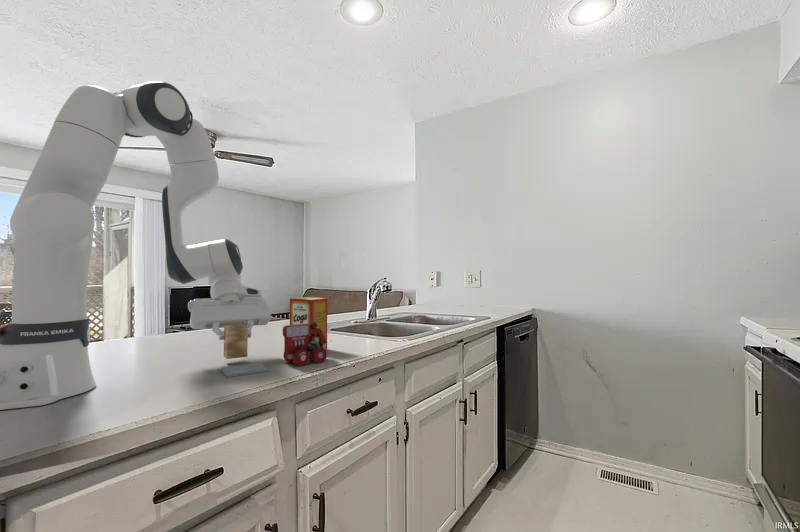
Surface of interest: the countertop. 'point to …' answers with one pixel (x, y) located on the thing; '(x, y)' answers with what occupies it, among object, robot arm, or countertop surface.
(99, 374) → the countertop surface
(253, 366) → the mat
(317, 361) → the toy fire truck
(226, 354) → the block
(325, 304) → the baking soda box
